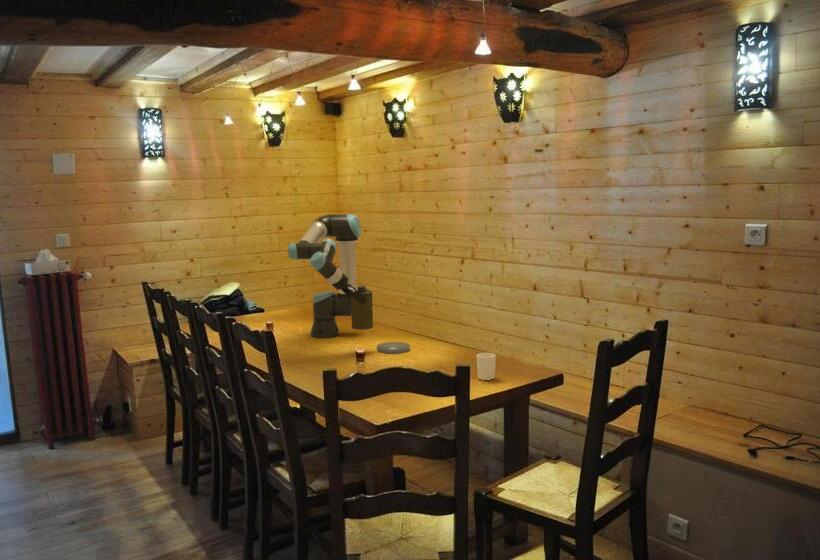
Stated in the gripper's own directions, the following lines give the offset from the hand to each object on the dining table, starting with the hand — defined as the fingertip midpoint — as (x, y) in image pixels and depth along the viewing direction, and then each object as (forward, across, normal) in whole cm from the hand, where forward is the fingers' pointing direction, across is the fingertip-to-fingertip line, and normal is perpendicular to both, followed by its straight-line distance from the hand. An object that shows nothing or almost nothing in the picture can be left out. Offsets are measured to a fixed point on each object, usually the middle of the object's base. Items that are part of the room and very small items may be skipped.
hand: (369, 309), depth 323 cm
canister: (+3, 0, -9) cm, 9 cm away
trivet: (+23, +3, -7) cm, 24 cm away
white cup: (+27, +67, -2) cm, 73 cm away
